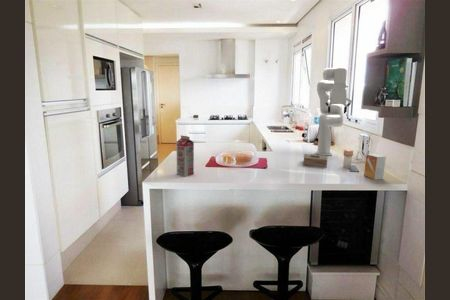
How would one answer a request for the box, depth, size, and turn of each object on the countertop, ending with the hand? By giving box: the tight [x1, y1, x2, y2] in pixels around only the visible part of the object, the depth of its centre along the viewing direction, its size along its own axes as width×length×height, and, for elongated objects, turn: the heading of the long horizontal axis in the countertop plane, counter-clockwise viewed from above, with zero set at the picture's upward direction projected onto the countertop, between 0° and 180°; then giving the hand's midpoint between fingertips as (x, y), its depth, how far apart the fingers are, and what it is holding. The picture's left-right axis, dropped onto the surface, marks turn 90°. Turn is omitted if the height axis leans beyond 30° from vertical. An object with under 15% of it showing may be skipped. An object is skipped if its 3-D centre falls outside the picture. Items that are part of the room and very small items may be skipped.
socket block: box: [303, 153, 328, 169], centre depth 188 cm, size 14×14×6 cm
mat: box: [347, 164, 360, 173], centre depth 184 cm, size 16×12×1 cm
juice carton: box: [176, 135, 195, 178], centre depth 159 cm, size 7×7×22 cm
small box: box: [363, 153, 387, 180], centre depth 163 cm, size 8×6×13 cm
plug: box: [342, 149, 354, 169], centre depth 182 cm, size 6×6×11 cm
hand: (336, 113), depth 192 cm, fingers open, 9 cm apart
